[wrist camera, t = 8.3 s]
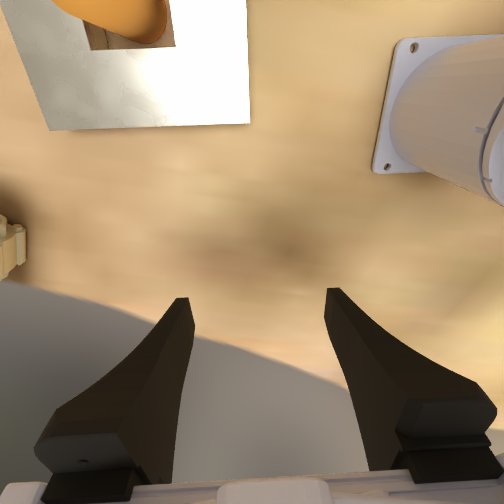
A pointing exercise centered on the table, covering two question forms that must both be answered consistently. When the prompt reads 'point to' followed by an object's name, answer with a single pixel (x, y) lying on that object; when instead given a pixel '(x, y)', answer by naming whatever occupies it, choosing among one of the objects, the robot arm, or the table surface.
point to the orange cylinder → (121, 16)
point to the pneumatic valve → (11, 246)
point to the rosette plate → (135, 68)
